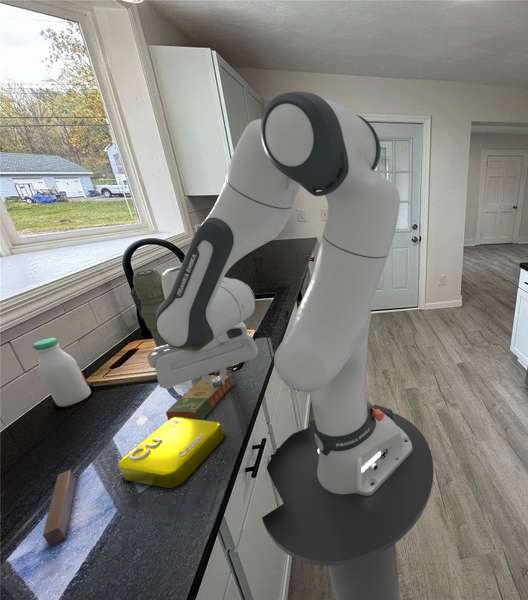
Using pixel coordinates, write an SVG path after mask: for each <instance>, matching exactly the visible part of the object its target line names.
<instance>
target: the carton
mask: <svg viewBox="0 0 528 600" xmlns="http://www.w3.org/2000/svg"><path fill="white" fill-rule="evenodd" d="M216 377H219V375H209V378H211V379H213V378H216ZM224 382H225V384H224V385H221V386H219V387H216V388H214V389H211V386H210V384H209V383H207V382H205V381H204V380H203V379H202V377H200V379H198V381H197V382H195V384H193V386H192V387H190V388H189V389H188V390H187V391H186V392H185V393H184V394H183V395H182V396H181V397H180V398H179V399H178V400H177V401H176V402H175V403H173V405H171V407H169V408H168V409H167V410H166V411H165V414H166V418H167V421H168V420H170V419H172V418H176V417H182V418H190V419H198V420H205V418H206V417H207V415H208V414H209V413H210V412H211V411H212V410H213V409H214V407H215V406H216V405H217V404H218V402H219V401H220V400H221V399H222V398H223V397H224V395H226V394H227V392H228V391H229V390H230V389H231V387H232V386H233V385H232V381H231V380H230V376H229V375H225V377H224Z"/></svg>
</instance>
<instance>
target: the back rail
mask: <svg viewBox="0 0 528 600" xmlns="http://www.w3.org/2000/svg"><path fill="white" fill-rule="evenodd" d="M76 483H77V478H76V476H75V474H74V473H73V471H72V469H68V470H66V471H64V472H61V473H58V474H57V476H56V481H55V484H54V489H53V492H52V497H51V501H50V504H49V508H48V513H47V517H46V521H45V524H44V528H43V533H42V537H43V539H44V540H45V541H46V542H47V544H48V545H49V546H50V547H52V546H54V545H55V544H57V543H60V542H61V541H63V540H66V539H67V533H68V527H69V522H70V516H71V511H72V506H73V501H74V495H75V491H76V490H75V489H76Z"/></svg>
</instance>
